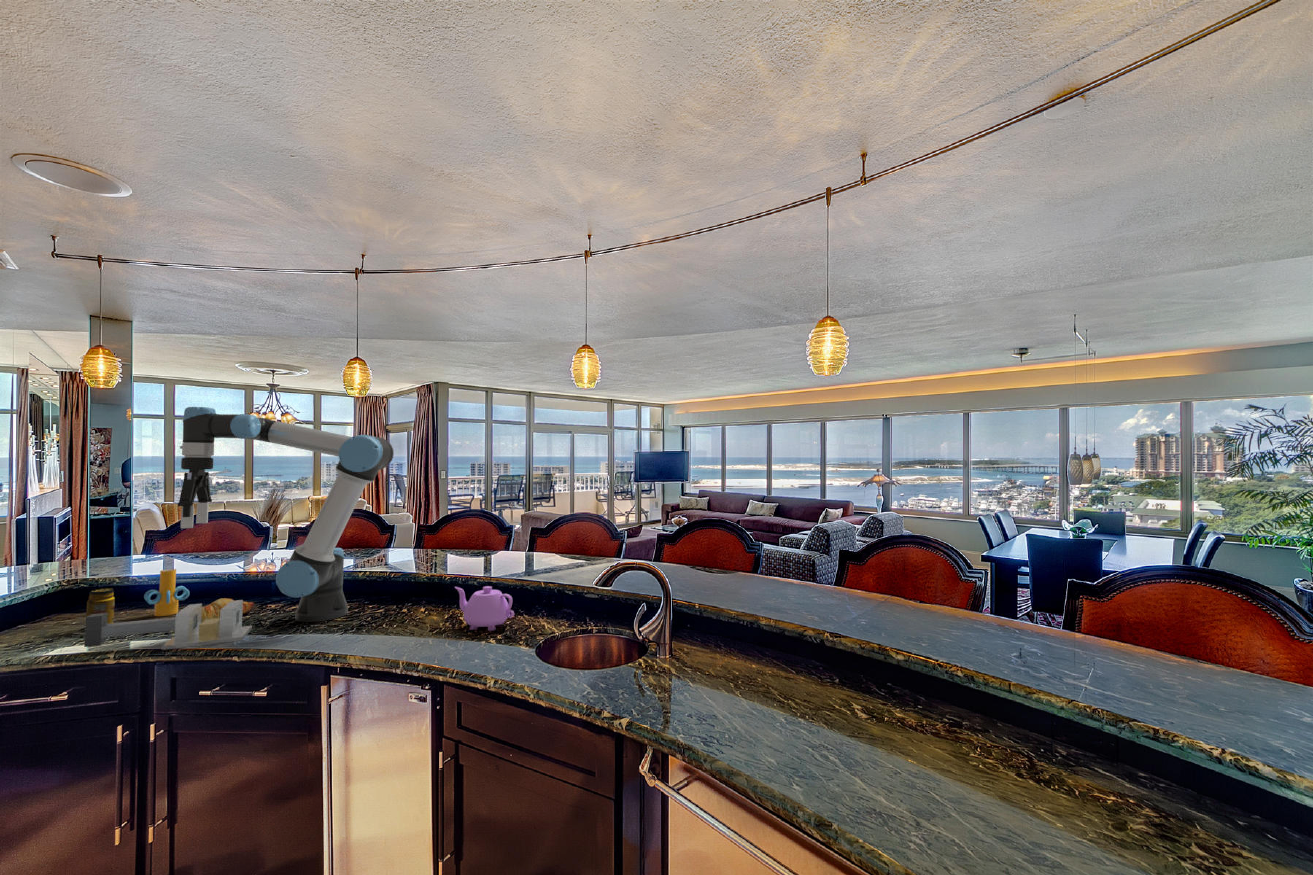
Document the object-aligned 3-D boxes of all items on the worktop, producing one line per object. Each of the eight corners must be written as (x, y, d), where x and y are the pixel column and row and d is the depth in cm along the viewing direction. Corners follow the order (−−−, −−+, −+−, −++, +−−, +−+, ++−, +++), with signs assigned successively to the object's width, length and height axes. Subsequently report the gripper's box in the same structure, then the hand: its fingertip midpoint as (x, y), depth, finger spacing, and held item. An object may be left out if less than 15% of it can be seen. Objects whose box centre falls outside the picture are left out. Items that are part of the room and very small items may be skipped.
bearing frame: (251, 628, 166) (253, 598, 166) (242, 640, 155) (243, 608, 156) (177, 636, 158) (179, 605, 158) (161, 649, 147) (163, 615, 148)
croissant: (184, 640, 165) (191, 619, 164) (168, 621, 169) (175, 600, 168) (257, 620, 185) (264, 601, 184) (242, 604, 189) (249, 585, 187)
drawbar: (195, 632, 156) (196, 604, 157) (191, 635, 154) (193, 607, 154) (90, 643, 146) (91, 614, 147) (84, 647, 143) (85, 617, 144)
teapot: (443, 631, 164) (444, 591, 165) (464, 618, 178) (465, 580, 179) (505, 634, 162) (505, 593, 163) (521, 620, 176) (522, 582, 177)
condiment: (120, 624, 170) (122, 586, 170) (103, 632, 162) (105, 592, 163) (90, 626, 167) (92, 588, 168) (72, 635, 159) (74, 594, 160)
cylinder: (158, 620, 174) (160, 574, 175) (133, 618, 176) (135, 573, 177) (197, 610, 186) (199, 567, 187) (173, 608, 188) (175, 566, 189)
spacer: (205, 632, 159) (222, 631, 161) (198, 638, 153) (216, 636, 155) (205, 619, 159) (222, 617, 161) (199, 624, 154) (216, 623, 155)
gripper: (195, 456, 174) (192, 521, 173) (166, 456, 151) (162, 530, 150) (224, 457, 177) (221, 520, 176) (200, 456, 155) (196, 529, 154)
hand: (194, 525), depth 163 cm, fingers open, 13 cm apart
